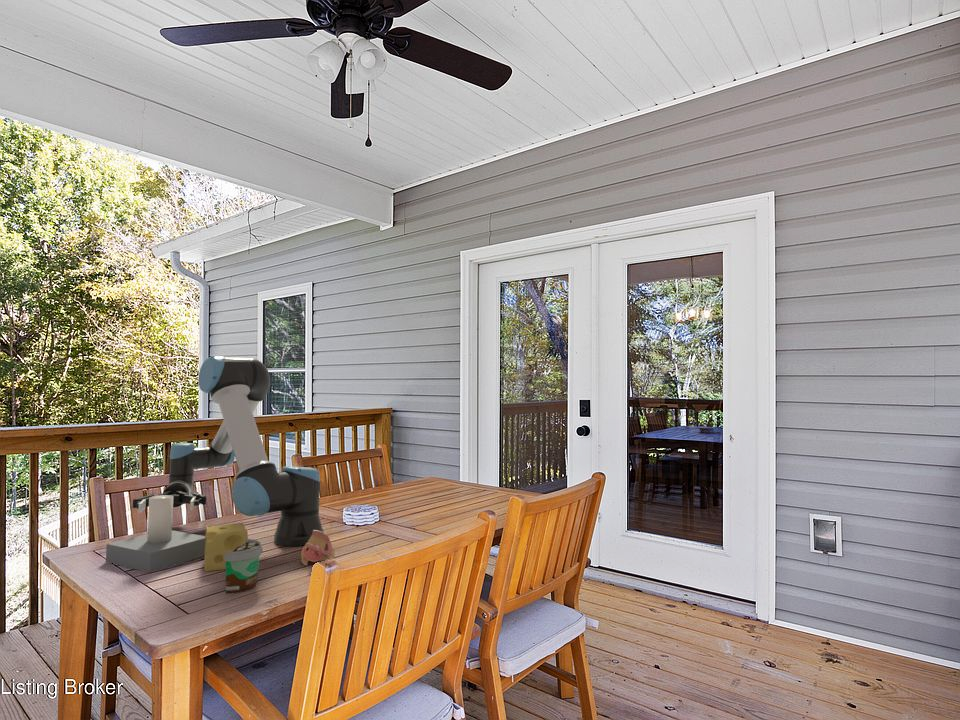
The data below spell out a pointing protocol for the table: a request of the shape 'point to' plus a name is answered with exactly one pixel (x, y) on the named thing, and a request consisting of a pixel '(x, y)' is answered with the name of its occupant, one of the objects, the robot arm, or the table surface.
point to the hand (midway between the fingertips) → (166, 507)
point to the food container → (242, 567)
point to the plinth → (155, 551)
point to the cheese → (222, 544)
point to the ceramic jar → (160, 519)
